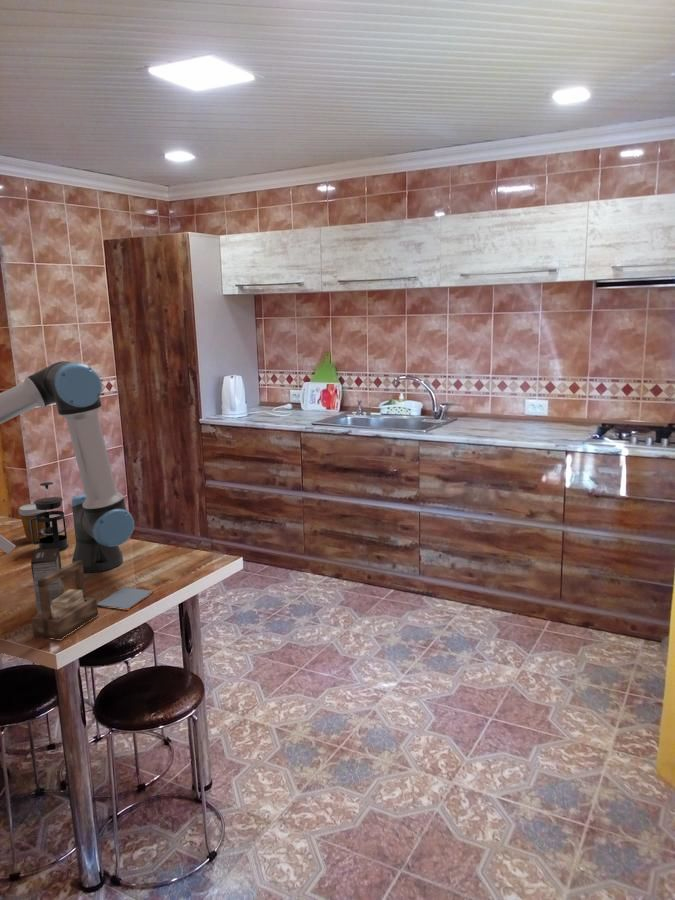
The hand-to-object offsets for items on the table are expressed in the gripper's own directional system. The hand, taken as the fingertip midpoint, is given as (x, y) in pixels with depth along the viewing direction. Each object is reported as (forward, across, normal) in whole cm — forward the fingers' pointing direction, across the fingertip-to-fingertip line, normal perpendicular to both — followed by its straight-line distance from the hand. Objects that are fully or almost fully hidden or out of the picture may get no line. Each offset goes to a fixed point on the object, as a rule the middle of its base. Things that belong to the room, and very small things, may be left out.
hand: (5, 559), depth 173 cm
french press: (+11, -54, -12) cm, 56 cm away
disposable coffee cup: (+5, -66, -18) cm, 69 cm away
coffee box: (+18, 0, -4) cm, 19 cm away
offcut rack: (+22, +10, 0) cm, 24 cm away
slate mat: (+31, -4, +9) cm, 33 cm away
